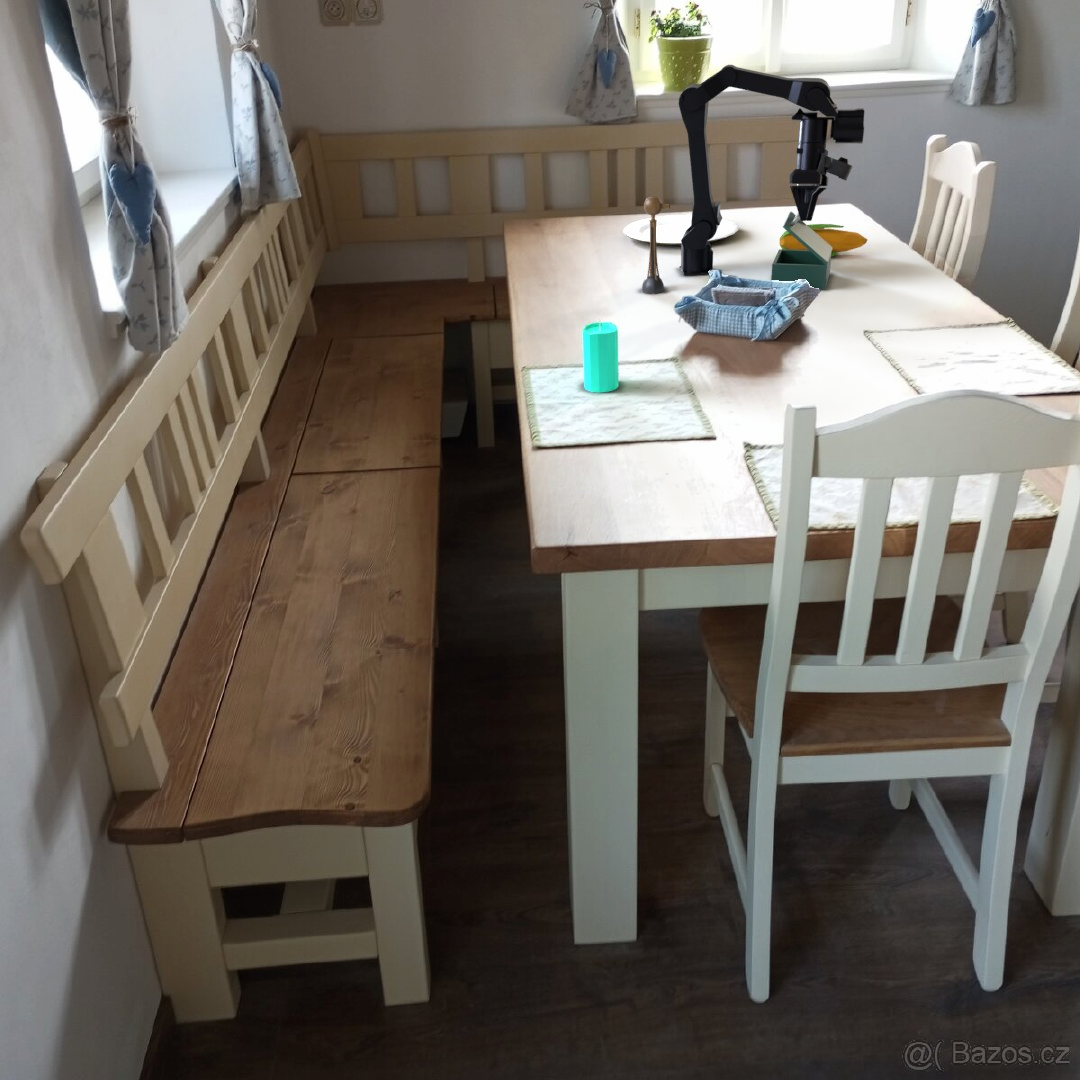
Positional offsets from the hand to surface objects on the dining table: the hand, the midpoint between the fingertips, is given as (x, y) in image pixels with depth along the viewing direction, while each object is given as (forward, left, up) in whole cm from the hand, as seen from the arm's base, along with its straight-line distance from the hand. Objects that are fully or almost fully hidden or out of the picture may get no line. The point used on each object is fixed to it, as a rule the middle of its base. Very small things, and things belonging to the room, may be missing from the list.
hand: (806, 220), depth 234 cm
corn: (+9, +18, -13) cm, 24 cm away
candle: (-50, -57, -13) cm, 77 cm away
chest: (-1, -2, -13) cm, 13 cm away
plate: (-20, +45, -13) cm, 50 cm away
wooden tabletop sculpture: (-33, -2, -13) cm, 35 cm away
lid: (0, -2, -3) cm, 4 cm away
